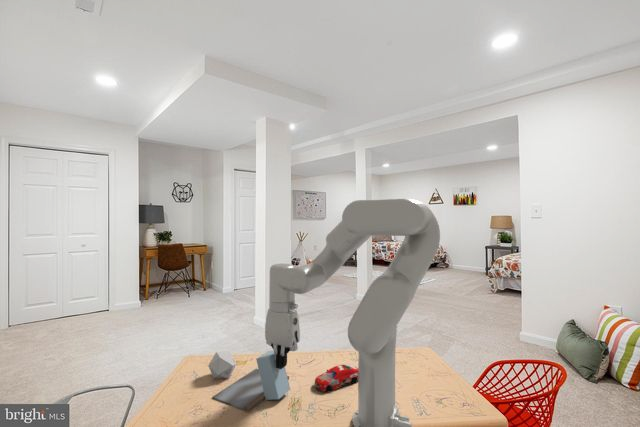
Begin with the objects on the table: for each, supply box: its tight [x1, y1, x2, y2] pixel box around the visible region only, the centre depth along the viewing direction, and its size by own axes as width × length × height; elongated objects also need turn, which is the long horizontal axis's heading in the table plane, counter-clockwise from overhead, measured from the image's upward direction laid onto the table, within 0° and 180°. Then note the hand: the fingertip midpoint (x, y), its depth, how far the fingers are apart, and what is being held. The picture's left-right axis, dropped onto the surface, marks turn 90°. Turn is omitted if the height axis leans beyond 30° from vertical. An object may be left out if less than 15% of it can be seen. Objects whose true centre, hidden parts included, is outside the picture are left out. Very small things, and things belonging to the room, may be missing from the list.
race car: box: [314, 364, 358, 393], centre depth 105 cm, size 16×7×5 cm, turn 120°
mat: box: [212, 368, 290, 413], centre depth 101 cm, size 14×20×1 cm
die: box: [207, 351, 237, 379], centre depth 109 cm, size 8×9×10 cm
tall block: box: [255, 349, 291, 401], centre depth 98 cm, size 5×6×12 cm
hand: (281, 366), depth 96 cm, fingers closed
